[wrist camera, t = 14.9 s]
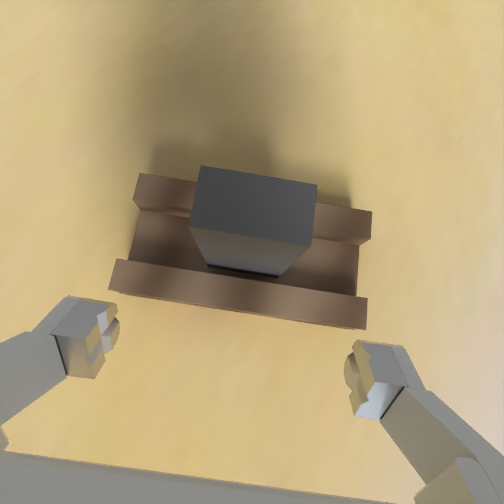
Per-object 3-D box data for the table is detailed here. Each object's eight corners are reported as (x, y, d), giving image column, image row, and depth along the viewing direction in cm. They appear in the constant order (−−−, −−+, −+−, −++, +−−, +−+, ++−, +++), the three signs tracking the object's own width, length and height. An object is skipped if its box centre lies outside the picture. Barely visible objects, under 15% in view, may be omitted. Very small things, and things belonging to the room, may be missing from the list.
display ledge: (126, 294, 23) (107, 290, 19) (152, 192, 25) (139, 172, 21) (346, 328, 23) (365, 330, 20) (353, 225, 25) (372, 211, 22)
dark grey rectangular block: (277, 278, 22) (311, 246, 13) (208, 267, 22) (188, 226, 12) (282, 241, 23) (317, 183, 13) (215, 230, 23) (201, 164, 13)
